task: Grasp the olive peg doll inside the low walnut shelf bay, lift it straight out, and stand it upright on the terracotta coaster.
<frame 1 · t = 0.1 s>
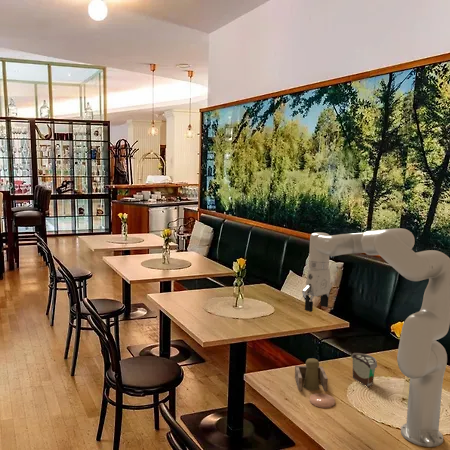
hand: (316, 308, 184), 31 cm above the table, tool pointing down, fingers open, 9 cm apart
olive peg doll: (311, 387, 186), on the table
terracotta coaster: (322, 401, 174), on the table
food container: (366, 381, 192), on the table
walnut shelf bay: (311, 386, 186), on the table
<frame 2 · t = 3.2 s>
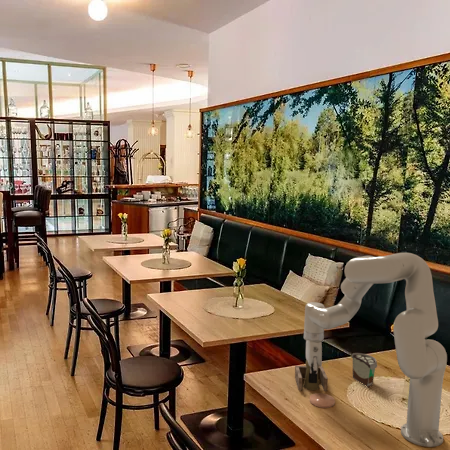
hand: (311, 379, 186), 3 cm above the table, tool pointing down, fingers closed on olive peg doll, 4 cm apart
olive peg doll: (311, 386, 186), on the table, touching gripper
everything else where it was.
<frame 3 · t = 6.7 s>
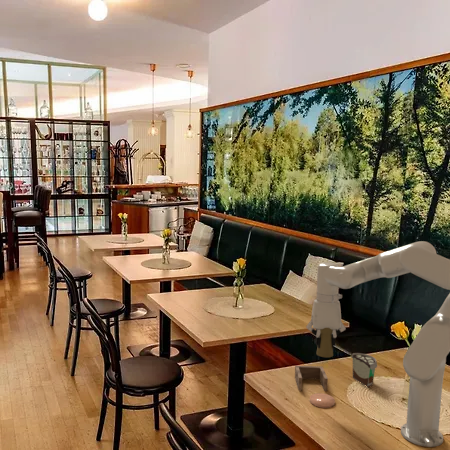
hand: (325, 346, 172), 21 cm above the table, tool pointing down, fingers closed on olive peg doll, 4 cm apart
olive peg doll: (324, 354, 172), point 18 cm above the table, touching gripper
everything else where it was.
when the fingers open (5 cm above the table, at t = 10.5 s): olive peg doll stays where it is, resting on terracotta coaster.
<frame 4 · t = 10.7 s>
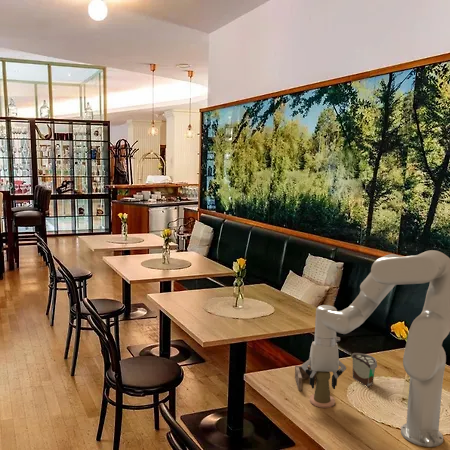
hand: (322, 386, 174), 6 cm above the table, tool pointing down, fingers open, 7 cm apart
olive peg doll: (322, 399, 174), point 1 cm above the table, touching terracotta coaster
everything else where it was.
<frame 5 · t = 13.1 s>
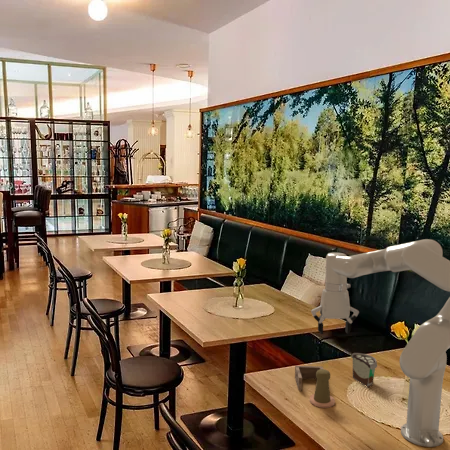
hand: (334, 332, 174), 25 cm above the table, tool pointing down, fingers open, 9 cm apart
nothing on the table moved.
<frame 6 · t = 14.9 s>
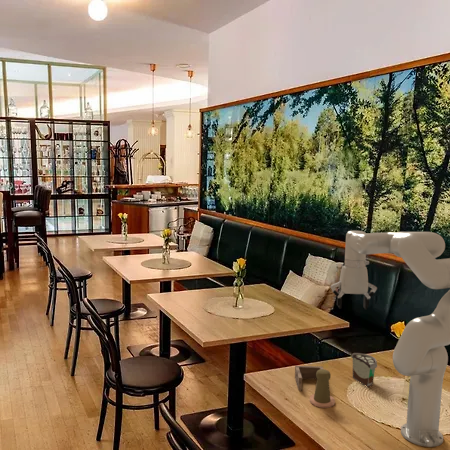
hand: (352, 307, 181), 32 cm above the table, tool pointing down, fingers open, 9 cm apart
nothing on the table moved.
at the end: olive peg doll 0.2 cm off-centre on the terracotta coaster, point 0.8 cm above the terracotta coaster's base; olive peg doll tilted 0°; the gripper is holding nothing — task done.
